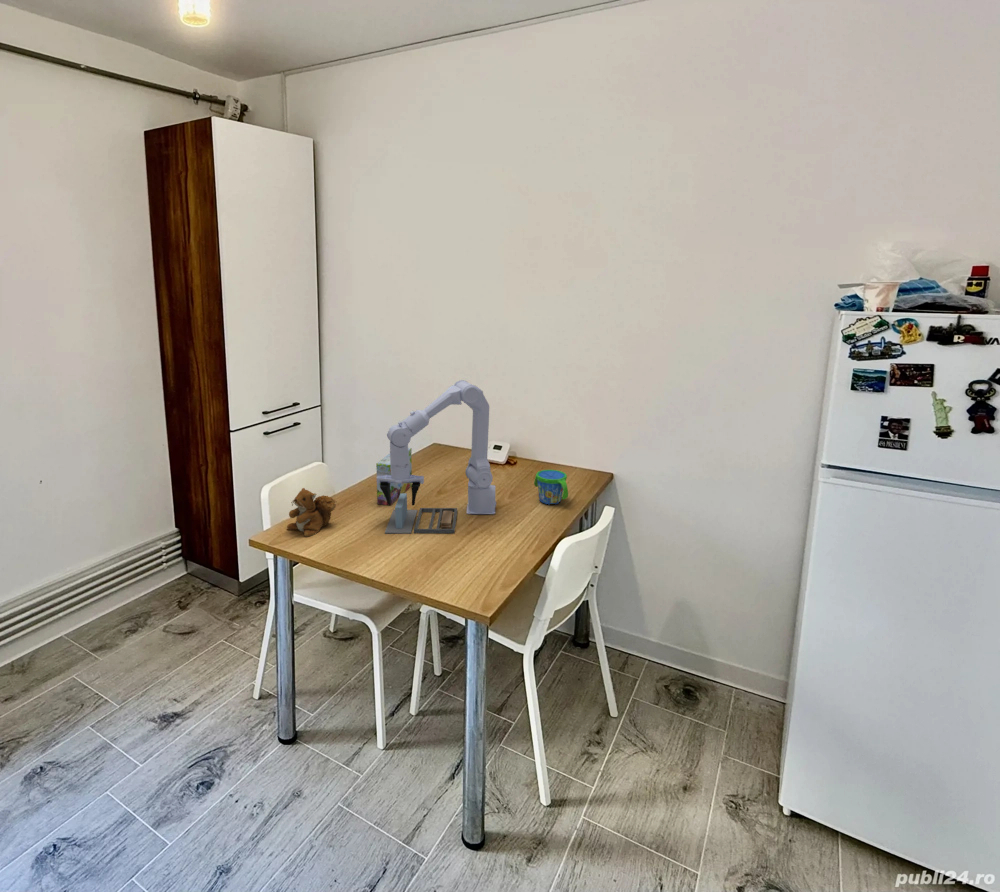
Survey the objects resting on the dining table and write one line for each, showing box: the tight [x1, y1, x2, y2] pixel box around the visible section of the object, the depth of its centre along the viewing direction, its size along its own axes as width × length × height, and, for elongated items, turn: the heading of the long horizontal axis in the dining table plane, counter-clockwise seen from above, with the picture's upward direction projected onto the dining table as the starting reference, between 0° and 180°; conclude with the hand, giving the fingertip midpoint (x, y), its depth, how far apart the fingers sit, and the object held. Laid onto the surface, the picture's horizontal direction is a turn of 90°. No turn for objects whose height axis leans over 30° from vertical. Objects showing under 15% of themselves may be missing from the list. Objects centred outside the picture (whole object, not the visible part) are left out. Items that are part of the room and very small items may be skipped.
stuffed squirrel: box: [286, 487, 337, 538], centre depth 183 cm, size 10×14×13 cm
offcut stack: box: [440, 511, 454, 529], centre depth 190 cm, size 3×12×2 cm, turn 1°
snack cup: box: [533, 469, 569, 505], centre depth 207 cm, size 16×10×10 cm
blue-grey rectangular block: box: [394, 492, 408, 528], centre depth 189 cm, size 2×12×7 cm, turn 1°
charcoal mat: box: [384, 509, 419, 535], centre depth 190 cm, size 8×18×1 cm, turn 1°
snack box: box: [375, 447, 413, 506], centre depth 211 cm, size 21×6×15 cm, turn 168°
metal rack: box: [413, 507, 458, 535], centre depth 190 cm, size 12×17×1 cm
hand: (401, 504), depth 188 cm, fingers open, 7 cm apart
